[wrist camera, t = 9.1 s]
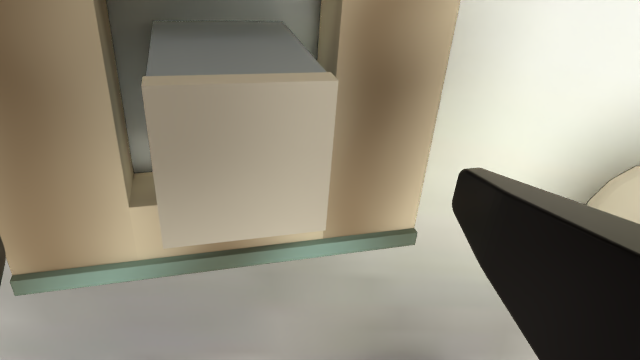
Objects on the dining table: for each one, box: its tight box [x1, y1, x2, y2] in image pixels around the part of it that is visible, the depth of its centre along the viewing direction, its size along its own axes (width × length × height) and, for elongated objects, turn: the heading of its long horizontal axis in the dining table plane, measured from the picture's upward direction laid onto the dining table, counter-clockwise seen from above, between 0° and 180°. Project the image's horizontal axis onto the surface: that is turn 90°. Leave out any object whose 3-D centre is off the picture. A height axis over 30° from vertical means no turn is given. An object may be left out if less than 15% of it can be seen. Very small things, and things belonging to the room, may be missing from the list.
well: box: [0, 0, 460, 296], centre depth 15 cm, size 14×12×2 cm
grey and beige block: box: [141, 21, 338, 249], centre depth 13 cm, size 4×4×6 cm
